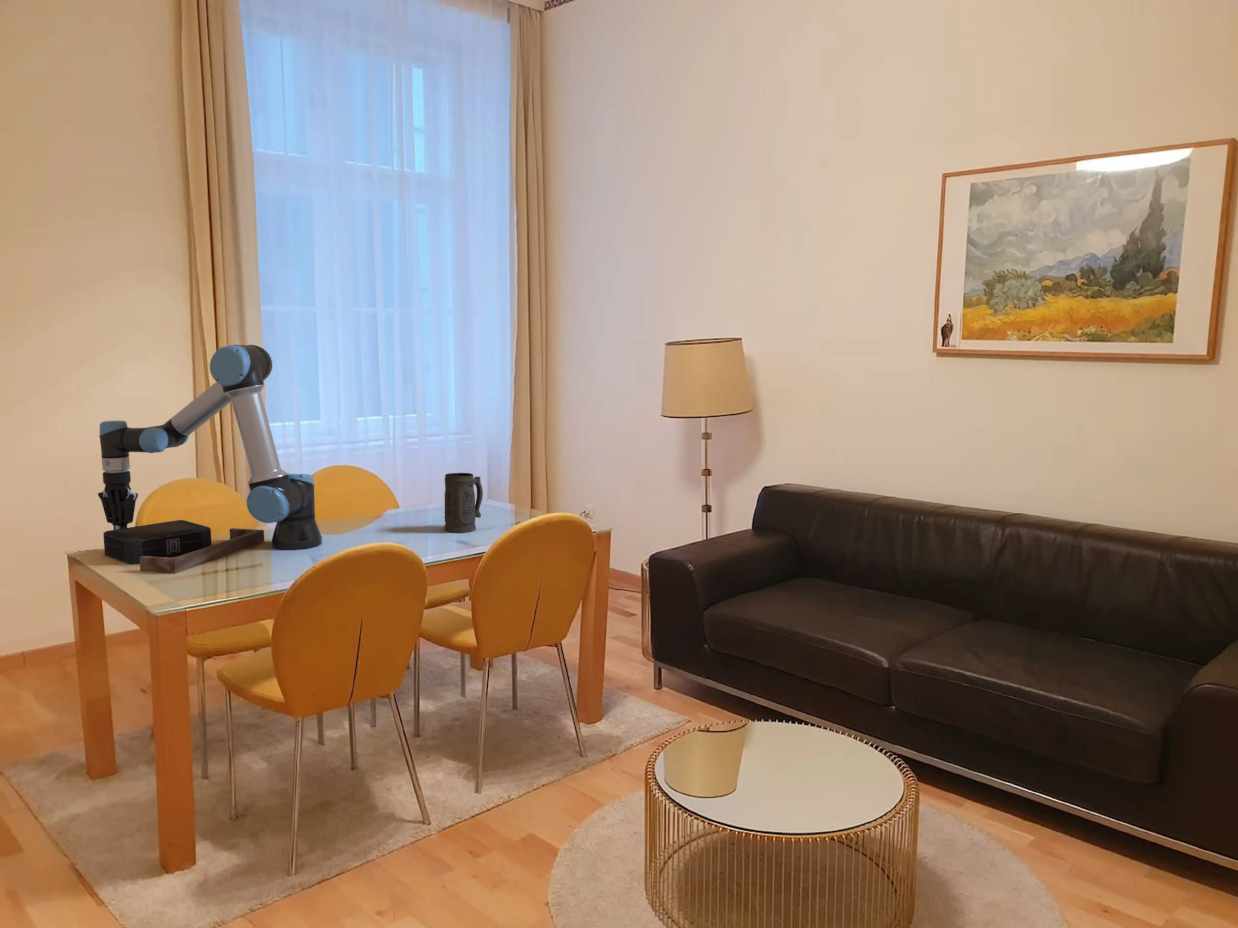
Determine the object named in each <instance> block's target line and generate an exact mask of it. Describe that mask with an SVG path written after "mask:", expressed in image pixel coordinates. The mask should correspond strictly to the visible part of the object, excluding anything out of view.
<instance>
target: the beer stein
mask: <svg viewBox="0 0 1238 928" xmlns="http://www.w3.org/2000/svg"><path fill="white" fill-rule="evenodd" d="M482 485H483V484H482V483H481V477H480V476H475V477H474V474H473V473H470V472H453V473H452V472H451V473H449V472H448V473H446V474H445V475H444V523H445V524H444V531H445V532H448V533H454V534H461V533H465V534H466V533H471V532H474V531H475V530H477V527H476V518H478V519H479V518H481V516H482V515H481V512H480V507H481V504H482V501H483V496H484V494H483V493H484V492H483V491H484V490H483V486H482ZM474 486H475V487H476V493H475V487H474Z"/></svg>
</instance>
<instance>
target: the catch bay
mask: <svg viewBox="0 0 1238 928" xmlns="http://www.w3.org/2000/svg"><path fill="white" fill-rule="evenodd" d="M262 543H263V544H264V543H265V529H255V528H254V529H252V528H238V527H237V528H236V527H232V528H229V539H227V540H224V541H221V542H218V543H215V544H212V545H211V546H208V547H205V548H202V549H199V550H196V551H193V552H190V553H187V554H184V555H181V556H178V557H173V558H167V557H153V556H141V557H139V558H140V563H139V569H140V571H141V572H152V573H165V574H166V573H167V574H177V573H182V572H184V571H186V570H190V569H191V568H195V567H198V566H200V565H205V563H209V562H212V561H215V560H217V559H220V558H223V557H225V556H228V555H232V554H235V553H237V552H240V551H243V550H247V549H248V548H252V547H254V546H257V545H260V544H262Z"/></svg>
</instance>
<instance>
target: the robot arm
mask: <svg viewBox="0 0 1238 928" xmlns="http://www.w3.org/2000/svg"><path fill="white" fill-rule="evenodd" d="M272 370H273V361H272V357H271V356H270V354H269V352H268V351H267V350H266V349H264V348H263V347H261V346H258V345H256V344H248V345H247V344H230V345H225V346H223V347H220V348H218V349H217V350H215V352H214V353H213V355H212V356H211V358H210V361H209V371H210V374H211V377H212V379H213V380H214V381H215V382H213V384H212V385H210V386H209V387H208V388H207V389H206V390H204V391H203V392H202V393H200V394H199V395H198V396H196V397H195V398H194V399H193V400H191V402H189V403H188V404H187V405H186V406H185V407H183V408H182V409H181V410H179V411H178V412H177V413H176V414H174V415H173V416H171V418H169V420H167V421H166V422H165V423H163V424H160V425H154V426H148V427H128V423H127V421H126V420H106V421H105V420H104V421H101V422H100V423H99V434H98V435H99V443H100V451H101V466H102V467H101V468H102V471H103V473H102V483H103V484H104V490H103V491H101V492H98V493H97V495H98V497H99V499H100V501H101V505H102V509H103V511H104V515H105V519H106V522H107V523H108V524H111V525H112V526H113V530H116V529H123V528H128V525H129V524H131V523H133V522H134V516H135V515H134V514H135V509H136V503H137V502H136V501H137V499H138V497H139V493H137V492H135V493H134V491H132V488H131V486H130V483H131V482H132V481H131V480H132V479H131V477H132V476H131V471H130V469H131V464H130V453H146V454H147V453H148V454H153V453H162V452H164V451H165V450H166V449H169V448H171V449H172V448H178V447H179V446H182V445H184V444H186V443H187V441H188V439H189V436H190V435H191V434H193V433H194V432H196V430H197V429H199V428H200V427H202V426H203V425H204V424H205V423H207V422H208V421H209V420H210V419H212V418H213V417H214V416H215V415H216V414H219V412H220V411H221V410H223V409H224V408H225V407H227V406H228V405H229V404H232V409H233V411H234V412H233V413H234V415H235V419H236V423H237V426H238V430H239V434H240V437H241V440H242V445H243V449H244V451H245V456H246V459H247V463H248V467H249V470H250V475H251V477H250V479H249V480H248V481H247V484H248V488H249V493H248V496H247V497H246V508H247V510H248V513H249V514H250V515H251V516H252V518H254V519H255V520H257V521H258V522H261V523H263V524H264V523H265V524H273V523H276V524H275V528H274V530H273V535H272V538H271V546H272V548H274V549H278V550H303V549H311V548H314V547H317V546H320V545H322V543H323V540H322V537H323V536H322V534H321V531H320V528H319V526H318V524H317V521H316V509H315V508H316V507H315V506H316V505H315V503H316V502H315V483H314V477H313V476H312V474H307V473H288V472H287V471H285V470H283V469H282V468H281V465H280V461H279V456H278V451H277V449H276V445H275V441H274V437H273V433H272V430H271V427H270V423H269V419H268V415H267V411H266V408H265V403H264V400H263V399H264V398H263V396H262V391H263V389H264V387H265V383H264V381H265V380H266V379H267V378H268V377H269V376H270V375H271V373H272Z"/></svg>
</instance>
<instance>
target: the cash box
mask: <svg viewBox="0 0 1238 928" xmlns="http://www.w3.org/2000/svg"><path fill="white" fill-rule="evenodd" d="M102 535H103V547H104V549H103V550H104V556H106V557H109V558H111V559H114V560H116V561H120V562H122V563H125V564H128V565H140V558H139V557H141V556H153V557H167V558H175V557H178V556H181V555H184V554H187V553H190V552H193V551H196V550H199V549H202V548H205V547H208V546H211V545H213V544H212V543H213V542H212V529H211V527H209V526H206V525H203V524H198V523H195V522H191V521H188V520H184V519H178V520H177V519H176V520H171V521H164V522H159V523H158V522H155V523H150V524H144V525H138V526H132V527H127V528H123V529H116V530H114V529H112V530H106V531H103V534H102Z"/></svg>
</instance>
